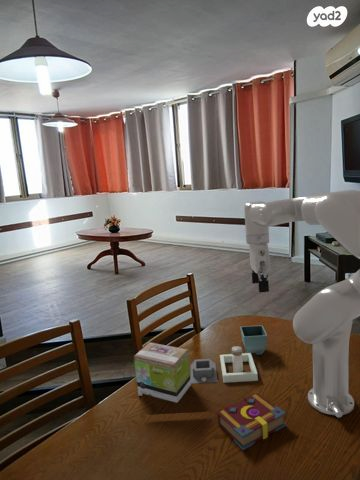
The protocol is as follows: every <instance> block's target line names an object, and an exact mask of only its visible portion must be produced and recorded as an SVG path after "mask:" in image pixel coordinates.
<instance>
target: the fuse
mask: <svg viewBox="0 0 360 480" xmlns="http://www.w3.org/2000/svg"><path fill="white" fill-rule="evenodd" d="M242 353H243V348H242V347H241V346H236V345H235V346H232V347H231V354H232V360H233V362H232V373H240V372H244V365H243V364H244V363H243V360H242Z"/></svg>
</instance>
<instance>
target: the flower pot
mask: <svg viewBox="0 0 360 480" xmlns="http://www.w3.org/2000/svg"><path fill="white" fill-rule="evenodd" d="M239 329H240V334H241V340H242V343H243V346H244V350H245V351H246V352H245V353H251V354H255V355H256V356H261V355H263V353H264V352H265V351H266V348H267V341H268V334H267V332H266V330H265V327H264V326H263V325H245V326H240V327H239Z"/></svg>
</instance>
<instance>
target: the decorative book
mask: <svg viewBox="0 0 360 480" xmlns="http://www.w3.org/2000/svg"><path fill="white" fill-rule="evenodd" d="M286 415H287V414H286V412H285V411H284V410H283V409H281V408H280V407H278V406H277V405H274V404H273V403H272V402H270V401H269V400H267V399H266V398H265V397H264V396H262V395H260V394H259V393H255V394H253V395H251V396H250V395H247V396H245V397H243V400H241V401H240V402H237V403H234V404H232V403H231V404H229V405H227V406H225V408H224V409H222V410H219V412H217V422H218V423H217V424H218V426H219V427H220V428H221V429H222V430H223V431H224V433H226V434H227V435H228V436H229V437H230V438H231V439H232V440H233V442H234V443H235V444H236V445H237V446H238V447H239V448H240V449H241V450H242V451H245V450H246V449H249V448H250V447H252V446H253V445H255V443H257V442H258V441H260V440H262V439H263V441H264V440H265V439H267V438H268V437H269V435H270V434H272V433H274V432H276V433H277V431H280V430H282V429H283V428H284V427H287V423H286V422H285V421H284V416H286Z"/></svg>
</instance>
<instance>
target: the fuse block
mask: <svg viewBox="0 0 360 480" xmlns="http://www.w3.org/2000/svg"><path fill="white" fill-rule="evenodd" d="M217 375H218V374H217V365H216V362H215V361H213V360H211V358H203V359H202V358H201V359H200V358H199V359H198V358H197V359H194V361H192V363H190V382H191V384H205V383H218V376H217Z"/></svg>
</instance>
